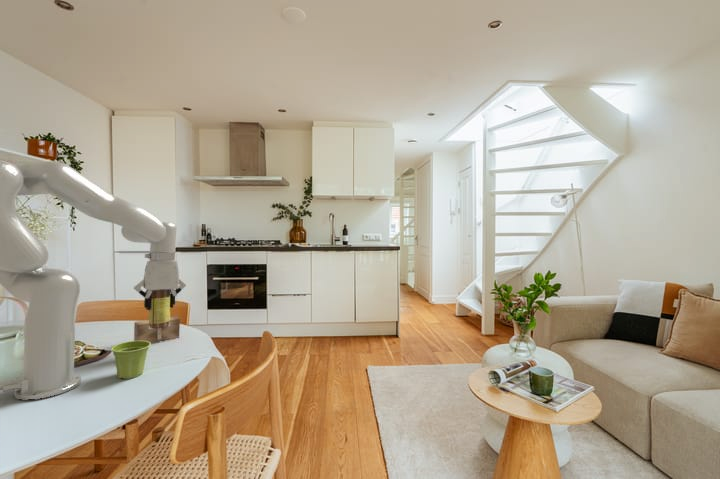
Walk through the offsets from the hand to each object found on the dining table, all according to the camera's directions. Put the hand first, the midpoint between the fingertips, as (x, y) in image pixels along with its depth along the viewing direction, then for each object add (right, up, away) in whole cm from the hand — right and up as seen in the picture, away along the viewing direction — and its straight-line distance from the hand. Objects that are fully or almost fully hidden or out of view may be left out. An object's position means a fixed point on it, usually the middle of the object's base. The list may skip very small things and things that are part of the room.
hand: (159, 307), depth 110 cm
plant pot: (+3, -16, -18) cm, 24 cm away
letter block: (-8, -15, +11) cm, 21 cm away
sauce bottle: (0, -7, 0) cm, 7 cm away
